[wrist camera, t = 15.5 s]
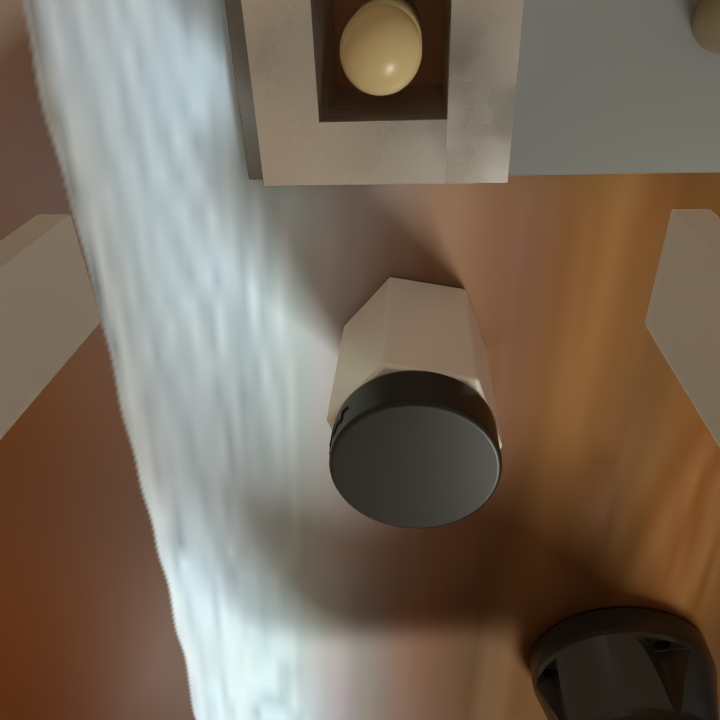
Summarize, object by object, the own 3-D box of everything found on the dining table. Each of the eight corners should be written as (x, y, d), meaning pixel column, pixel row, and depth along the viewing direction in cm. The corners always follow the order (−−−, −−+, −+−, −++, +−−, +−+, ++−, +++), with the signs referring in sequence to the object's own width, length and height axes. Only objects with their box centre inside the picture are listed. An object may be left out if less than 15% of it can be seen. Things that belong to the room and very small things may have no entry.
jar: (326, 296, 39) (295, 421, 29) (456, 254, 36) (471, 373, 26) (378, 407, 43) (367, 549, 33) (497, 375, 41) (523, 517, 31)
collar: (268, -102, 27) (227, -112, 21) (508, -114, 26) (535, -129, 20) (291, 141, 32) (263, 186, 27) (490, 137, 32) (507, 182, 26)
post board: (971, -202, 24) (1258, -272, 16) (835, 164, 32) (981, 243, 24) (209, -156, 27) (117, -197, 19) (253, 173, 35) (202, 248, 26)
